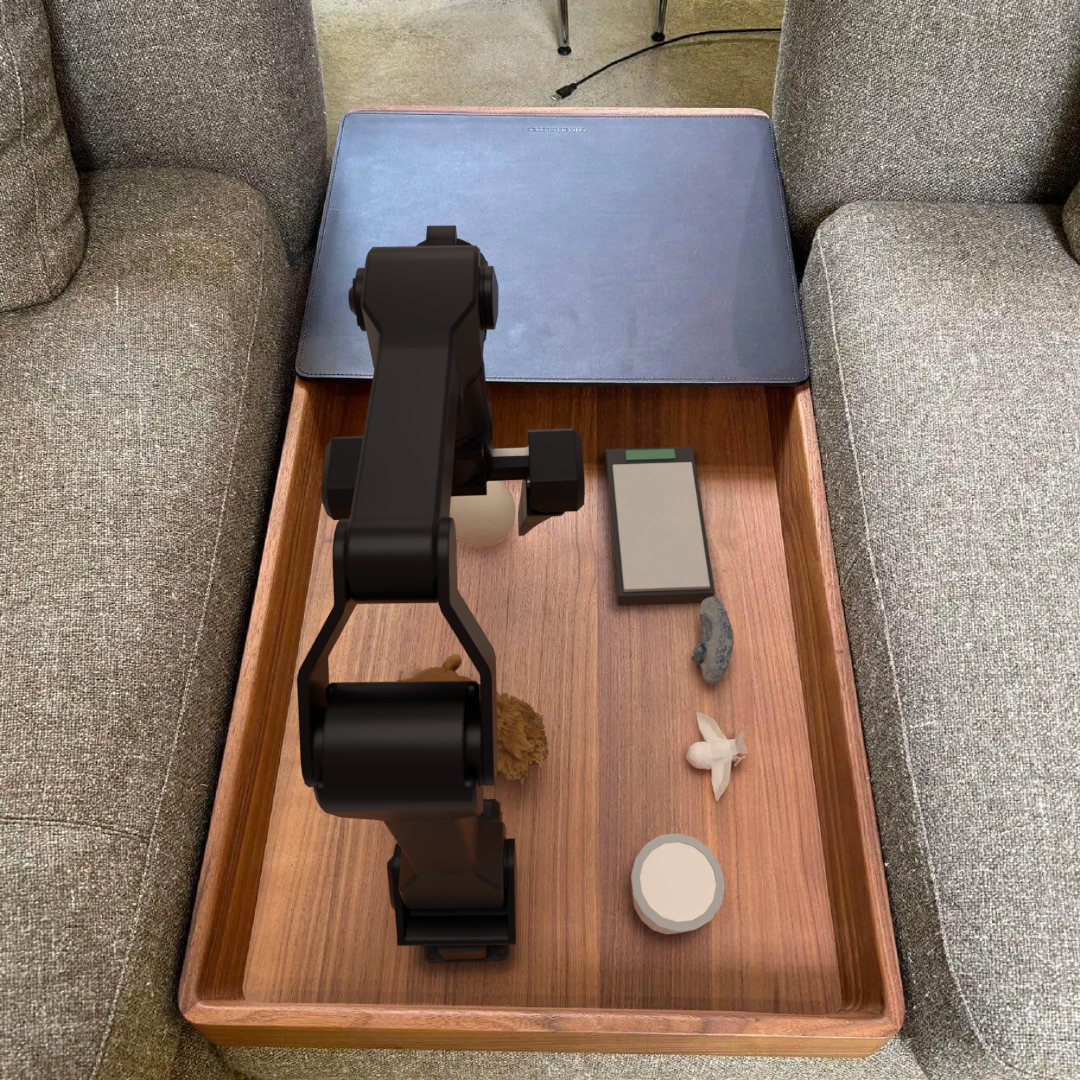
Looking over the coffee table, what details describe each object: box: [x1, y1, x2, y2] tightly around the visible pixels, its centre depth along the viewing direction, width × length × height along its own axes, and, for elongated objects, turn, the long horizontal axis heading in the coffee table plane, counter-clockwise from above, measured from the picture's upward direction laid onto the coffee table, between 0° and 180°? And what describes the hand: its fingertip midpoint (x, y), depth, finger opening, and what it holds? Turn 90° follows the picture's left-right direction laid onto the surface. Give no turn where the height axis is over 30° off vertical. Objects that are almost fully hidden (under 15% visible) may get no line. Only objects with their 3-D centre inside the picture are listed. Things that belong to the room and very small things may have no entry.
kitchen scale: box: [604, 445, 716, 606], centre depth 88 cm, size 17×9×3 cm, turn 2°
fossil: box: [691, 595, 735, 686], centre depth 80 cm, size 8×4×5 cm, turn 176°
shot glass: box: [630, 832, 726, 935], centre depth 68 cm, size 7×7×7 cm
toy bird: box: [685, 710, 749, 803], centre depth 75 cm, size 8×5×5 cm, turn 7°
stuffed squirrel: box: [395, 653, 550, 784], centre depth 72 cm, size 10×14×13 cm
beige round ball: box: [449, 481, 517, 548], centre depth 86 cm, size 7×7×7 cm
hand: (464, 533), depth 72 cm, fingers open, 9 cm apart
